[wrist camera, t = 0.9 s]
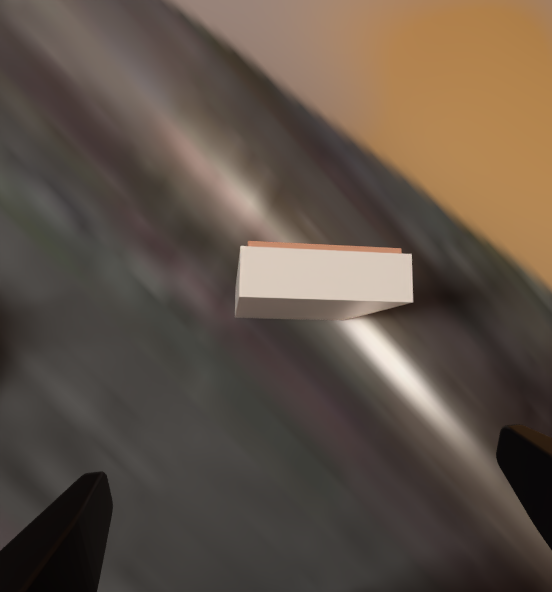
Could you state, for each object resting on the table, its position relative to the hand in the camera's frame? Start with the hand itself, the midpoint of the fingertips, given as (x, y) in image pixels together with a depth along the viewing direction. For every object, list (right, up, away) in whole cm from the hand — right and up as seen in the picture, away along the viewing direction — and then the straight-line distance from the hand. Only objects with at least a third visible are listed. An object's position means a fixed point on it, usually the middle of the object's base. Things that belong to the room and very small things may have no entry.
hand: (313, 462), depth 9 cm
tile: (0, +3, +17) cm, 17 cm away
